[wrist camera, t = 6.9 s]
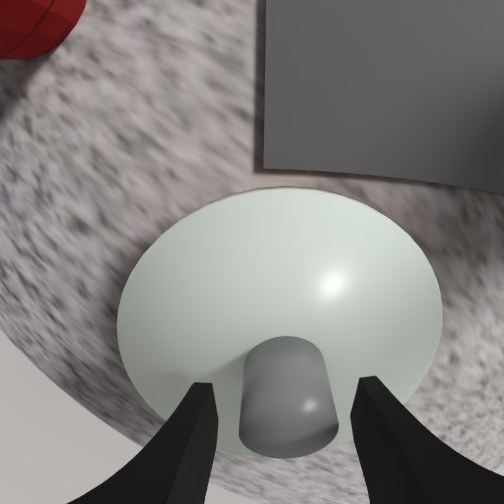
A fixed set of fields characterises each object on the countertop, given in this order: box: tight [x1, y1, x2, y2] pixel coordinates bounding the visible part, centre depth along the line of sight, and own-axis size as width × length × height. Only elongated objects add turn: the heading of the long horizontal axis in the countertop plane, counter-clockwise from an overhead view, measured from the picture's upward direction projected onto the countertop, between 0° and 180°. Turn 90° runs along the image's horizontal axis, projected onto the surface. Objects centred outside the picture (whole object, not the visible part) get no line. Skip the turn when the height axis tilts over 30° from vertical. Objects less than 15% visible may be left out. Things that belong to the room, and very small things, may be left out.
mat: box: [263, 0, 504, 195], centre depth 10 cm, size 16×16×1 cm
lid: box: [117, 186, 443, 459], centre depth 10 cm, size 13×13×4 cm
